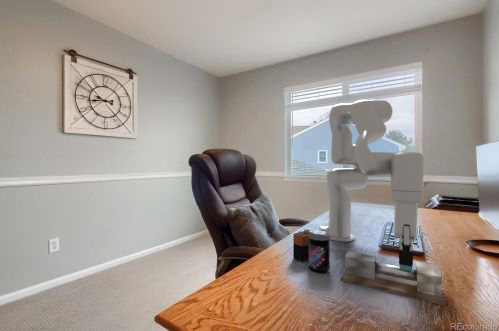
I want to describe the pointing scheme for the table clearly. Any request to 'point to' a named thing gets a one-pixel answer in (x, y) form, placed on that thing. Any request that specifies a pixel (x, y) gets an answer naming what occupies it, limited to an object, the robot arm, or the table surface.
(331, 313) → the table surface
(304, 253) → the battery
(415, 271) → the l-shaped stand
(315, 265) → the supplement container
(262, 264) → the table surface
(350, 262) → the tube rig
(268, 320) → the table surface
